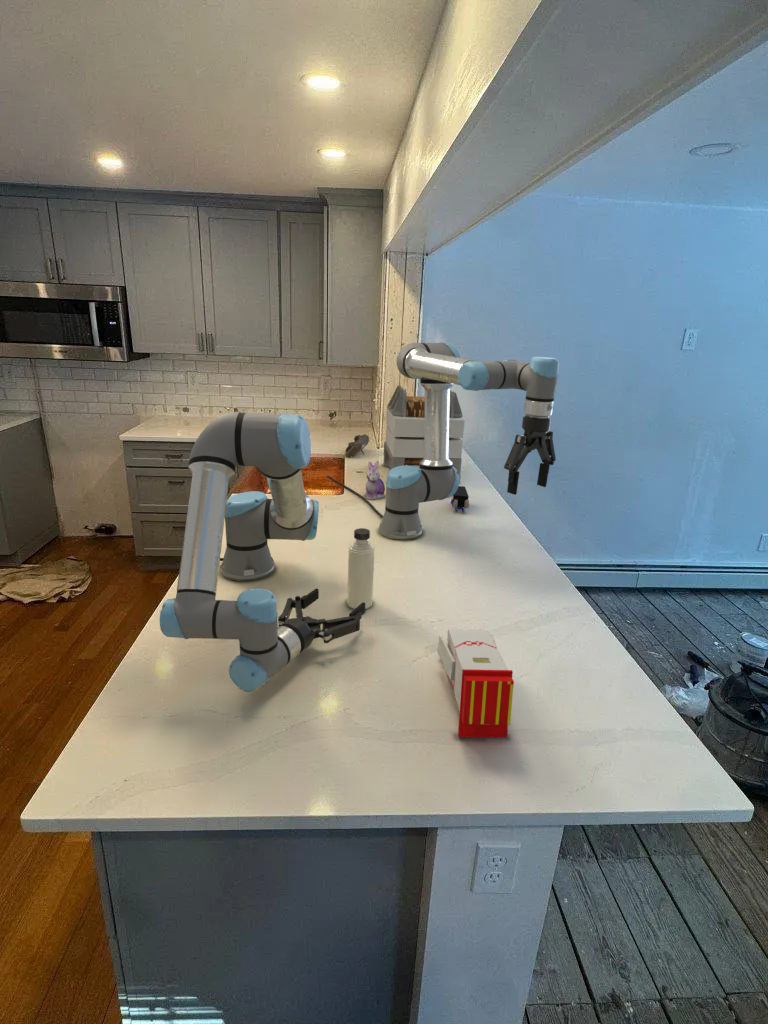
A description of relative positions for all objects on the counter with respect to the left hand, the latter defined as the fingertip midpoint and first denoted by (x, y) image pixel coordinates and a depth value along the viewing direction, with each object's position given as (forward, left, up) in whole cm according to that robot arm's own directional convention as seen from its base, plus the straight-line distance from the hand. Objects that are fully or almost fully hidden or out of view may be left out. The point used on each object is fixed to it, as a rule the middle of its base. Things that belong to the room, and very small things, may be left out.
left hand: (340, 600), depth 141 cm
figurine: (-40, +93, -6) cm, 101 cm away
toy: (+38, -10, -6) cm, 40 cm away
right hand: (+32, +50, +22) cm, 63 cm away
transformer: (-39, +137, -6) cm, 143 cm away
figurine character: (-5, +99, -6) cm, 99 cm away
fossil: (-82, +152, -6) cm, 173 cm away
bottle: (0, +10, -6) cm, 12 cm away
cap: (0, +10, +15) cm, 18 cm away
